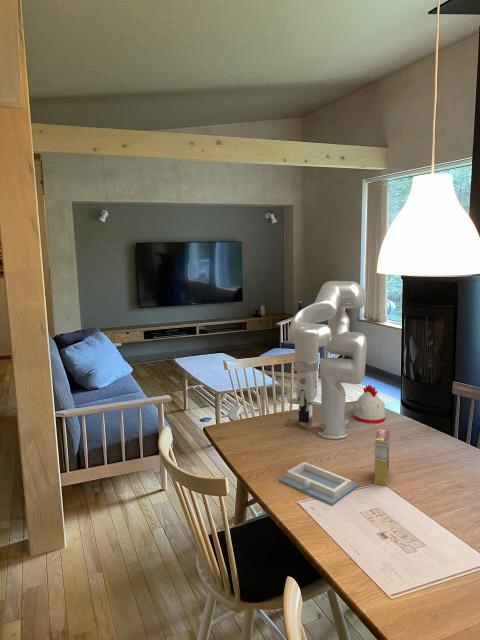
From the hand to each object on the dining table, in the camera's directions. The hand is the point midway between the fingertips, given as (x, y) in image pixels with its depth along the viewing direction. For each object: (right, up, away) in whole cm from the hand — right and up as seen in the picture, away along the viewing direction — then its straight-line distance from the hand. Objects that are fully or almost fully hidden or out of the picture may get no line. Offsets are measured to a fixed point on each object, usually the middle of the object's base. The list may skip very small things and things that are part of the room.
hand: (305, 419), depth 150 cm
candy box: (+25, -20, 0) cm, 32 cm away
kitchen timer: (+36, -11, +53) cm, 65 cm away
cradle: (+4, -20, -3) cm, 21 cm away
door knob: (0, -3, 0) cm, 3 cm away
